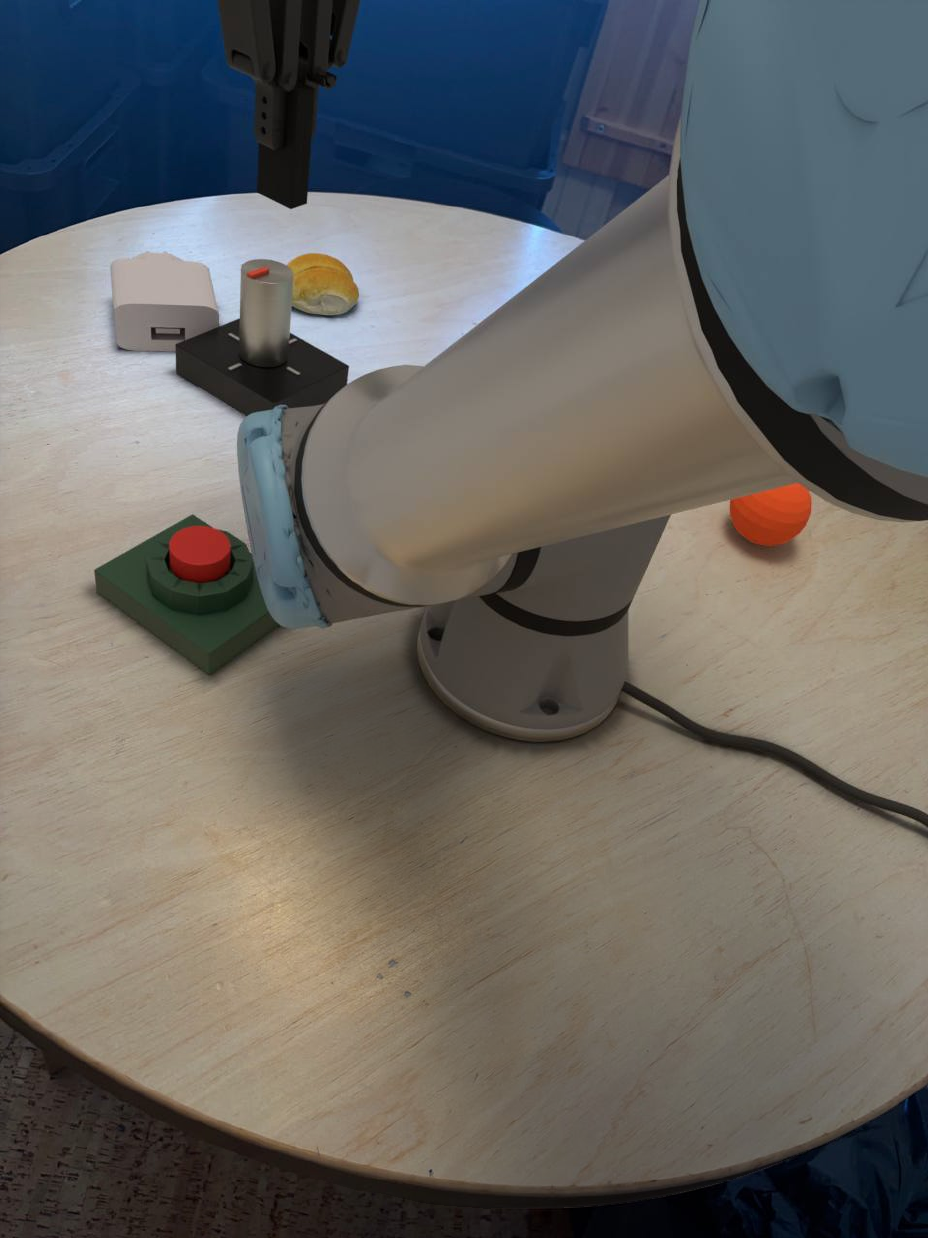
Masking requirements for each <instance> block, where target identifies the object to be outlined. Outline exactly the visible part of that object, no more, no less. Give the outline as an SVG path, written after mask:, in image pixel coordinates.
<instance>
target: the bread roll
mask: <svg viewBox="0 0 928 1238" xmlns="http://www.w3.org/2000/svg"><path fill="white" fill-rule="evenodd" d="M285 265H286V266H288V267H289V268H290V269H291V270H292V271H293V289H292V305H291V307H293V308H295V309H297V310H299V311H301V312H304V313H307V314H313V315H321V316H340V315H343V314H346V313H347V312H349V311H350V310H351V309H352V308H353V307H354V306H355V305H356V304H357V303H358V301H359V297H360V292H359V287H358V285H357V284H356V283H355V282H354V277H353V274H352V273H351V271H350V269H349V268H348V267H347V266H346V265H345V264H344V262H342V261H341V260H339V259H338V258H336V257H333V256H331V255H329V254H324V253H318V252H317V253H316V252H311V253H304V254H301V255H298V256H296V257H295V258H293V259H292V260H290V261H289V262H288V263H286V264H285Z"/></svg>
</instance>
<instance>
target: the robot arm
mask: <svg viewBox="0 0 928 1238" xmlns="http://www.w3.org/2000/svg"><path fill="white" fill-rule="evenodd" d="M360 3H361V0H217V7H218V14H219V20H220V27H221V34H222V41H223V47H224V53H225V55H224V56H225V60H226V64H227V66H228V67H230V68H231V69H234V70H235V71H237V72H239V73H242V74H244V75H247V76H249V77H251V78H252V80H253V82H254V89H255V90H254V91H255V92H254V96H255V97H254V118H253V119H254V123H253V124H254V125H253V135H254V137H255V142H257V143H258V145H257V148H258V150H257V173H256V174H257V176H256V177H257V179H256V193H257V194H259V195H261V196H263V197H265V198H266V199H267V198H268V199H269V200H271V201H274V202H276V203H277V204H279V205H280V206H284V207H285V208H287V209H289V210H293V209H295V208H299V207H301V206H304V205H308V196H309V195H308V194H309V179H310V167H311V152H312V140H314V137H315V134H316V130H317V119H318V117H317V115H318V106H319V105H318V104H319V103H318V102H319V91H320V90H319V89H320V87H322V88H324V89H326V90H331V89H333V88H334V87H335V85H336V83H337V81H338V75H336V74H334V73H331V72H329V70H330V69H331V68H333V67H335V68H338V69H341V68H343V67H344V66H345V65H346V63H347V61H348V57H349V53H350V48H351V44H352V40H353V34H354V31H355V26H356V22H357V17H358V13H359V8H360ZM686 64H687V65H686V72H685V77H684V78H685V79H684V86H683V87H684V88H683V93H682V101H681V111H680V116H679V120H678V124H677V127H676V131H675V135H674V139H673V144H672V152H671V159H670V164H669V172H668V175H667V176H666V177H664V178H662V179H661V180H660V181H658V183H656V184H655V185H654V186H653V187H652V188H649V190H648V191H646V192H645V193H644V194H642V195H641V196H640V197H638V198H637V199H636V200H635V201H634V202H633V203H631V204H630V205H628V207H626V208H625V209H623V210H622V211H621V212H619V213H617V215H616V216H615V217H613V218H612V219H611V220H609V221H608V222H607V223H606V224H604V225H603V226H602V227H600V228H599V229H598V230H596V232H594V233H593V234H592V235H590V236H589V237H587V238H586V239H585V240H584V241H583V242H581V243H579V245H577V246H576V247H575V248H573V249H572V250H571V251H570V252H569V253H567V254H566V255H565V256H563V257H562V258H561V259H560V260H558V261H556V262H555V264H553V265H552V266H551V267H549V268H548V269H547V270H546V271H545V272H543V273H542V274H541V275H539V276H537V278H536V279H534V280H533V281H532V282H530V283H529V284H528V285H527V286H525V287H524V288H523V289H521V290H520V291H519V292H518V293H516V294H515V295H513V296H512V297H511V298H510V299H509V300H508V301H506V302H505V303H504V304H502V305H501V306H499V307H498V308H497V309H496V310H495V311H493V312H492V313H490V314H489V315H488V316H487V317H485V318H484V319H483V320H482V321H480V322H479V323H478V324H477V325H476V326H474V327H473V328H471V329H470V330H468V332H466V333H464V335H463V336H461V337H459V339H457V340H456V341H454V342H453V343H452V344H450V345H449V346H448V347H447V348H446V349H444V350H443V351H442V352H440V353H439V354H438V355H437V356H436V357H434V358H433V359H432V360H431V361H429V362H428V363H426V364H425V365H412V364H402V365H401V364H400V365H393V366H389V367H384V368H379V369H376V370H374V371H371V372H368V373H366V374H363V375H361V376H359V377H358V378H355V379H354V380H352V381H350V382H347V385H346V386H344V387H343V388H342V389H341V390H339V391H338V392H337V393H336V394H335V395H334V396H333V397H332V398H331V399H329V400H328V401H327V402H326V403H325V404H322V405H316V406H309V407H299V408H289V407H288V406H286V405H279V406H276V407H274V409H273V410H267V411H261V412H255V413H252V414H250V415H248V416H245V417H244V418H243V419H242V420H241V422H240V424H239V426H238V430H237V435H236V436H237V437H236V457H237V458H236V459H237V469H238V479H239V489H240V495H241V502H242V508H243V513H244V514H243V515H244V519H245V525H246V532H247V536H248V541H249V547H250V553H251V554H252V556H253V561H254V565H255V569H256V573H257V577H258V581H259V585H260V589H261V592H262V595H263V598H264V601H265V604H266V606H267V609H268V611H269V613H270V614H271V616H272V618H273V619H274V620H275V621H276V622H277V623H278V624H280V625H279V626H281V627H282V628H283V627H284V628H286V629H291V630H293V629H294V630H297V629H306V628H313V627H318V628H320V629H321V630H324V629H326V628H330V627H332V626H333V624H336V623H342V622H347V621H353V620H358V619H364V618H369V617H375V616H379V615H385V614H391V613H397V612H402V611H408V610H413V609H419V608H424V607H426V609H425V611H424V614H423V615H422V619H421V622H420V625H419V629H418V634H417V635H418V636H417V641H416V651H417V659H418V663H419V667H420V669H421V672H422V675H423V677H424V679H425V680H426V683H427V684H428V686H429V687H430V690H432V691H433V692H434V695H436V696H437V698H438V699H439V700H440V701H441V702H442V703H443V704H444V705H445V706H446V707H448V709H450V710H451V711H452V712H453V713H455V714H456V715H458V716H459V717H460V718H462V719H463V720H465V721H467V722H468V723H470V724H472V725H473V726H476V727H477V728H480V729H482V730H484V731H487V732H489V733H492V734H494V735H497V736H501V737H504V738H507V739H511V740H517V741H525V742H537V743H538V742H539V743H541V742H542V743H543V742H544V743H545V742H556V741H557V742H558V741H564V740H567V739H571V738H575V737H577V736H580V735H583V734H585V733H587V732H589V731H591V730H593V729H595V728H596V727H598V726H599V725H600V724H601V723H602V722H603V721H605V720H606V718H607V717H608V716H609V715H610V714H611V712H612V711H613V710H614V708H615V706H616V704H617V703H618V700H619V699H620V696H621V694H622V693H625V694H626V695H627V696H629V697H632V698H633V699H635V700H637V701H638V702H640V703H642V704H643V705H645V706H647V707H649V708H651V709H652V710H655V711H656V712H658V713H660V714H661V715H663V716H665V717H666V718H668V719H669V720H671V721H672V722H674V723H675V724H677V725H678V726H680V727H681V728H683V729H685V730H687V731H688V732H690V733H691V734H694V735H696V736H698V737H701V738H703V739H705V740H708V741H710V742H714V743H718V744H722V745H726V746H731V747H738V748H739V747H740V748H745V749H750V750H756V751H761V752H764V753H768V754H770V755H773V756H776V757H779V758H780V759H783V760H785V761H787V762H789V763H791V764H793V765H795V766H797V767H798V768H800V769H802V770H804V771H805V772H806V773H808V774H810V775H812V777H815V778H816V779H818V780H819V781H820V782H822V783H824V784H826V785H827V786H829V787H831V788H832V789H834V790H837V791H838V792H839V793H841V794H843V795H846V796H848V797H850V798H851V799H854V800H855V801H857V802H858V801H859V802H861V803H864V804H867V805H869V806H872V807H875V808H879V809H882V810H884V811H888V812H892V813H894V814H898V815H901V816H903V817H906V818H909V819H912V820H914V821H915V822H918V823H920V824H921V825H923V826H925V827H926V828H927V829H928V813H927V812H925V811H923V810H920V809H919V808H917V807H914V806H911V805H908V804H905V803H902V802H899V801H896V800H893V799H890V798H886V797H883V796H880V795H877V794H873V793H870V792H868V791H865V790H863V789H860V788H858V787H855V786H854V785H851V784H849V783H847V782H846V781H844V780H842V779H841V778H839V777H837V776H836V775H834V774H832V773H830V772H829V771H827V770H825V769H824V768H822V767H821V766H819V765H817V764H816V763H814V762H813V761H811V760H809V759H807V758H806V757H804V756H803V755H801V754H799V753H797V752H795V751H793V750H791V749H788V748H786V747H784V746H782V745H780V744H776V743H774V742H770V741H769V740H768V741H767V740H765V739H764V740H763V739H760V738H755V737H749V736H742V735H736V734H730V733H726V732H722V731H717V730H714V729H711V728H709V727H706V726H703V725H702V724H700V723H698V722H696V721H694V720H692V719H690V718H688V717H687V716H686V715H684V714H683V713H682V712H680V711H678V710H677V709H675V708H674V707H672V706H670V705H669V704H667V703H665V702H663V701H662V700H660V699H659V698H657V697H655V696H653V695H651V694H649V693H648V692H646V691H644V690H642V689H640V688H639V687H637V686H635V685H634V684H632V683H630V682H628V681H626V679H627V674H628V670H629V610H630V608H631V605H632V603H633V600H634V598H635V595H636V594H637V592H638V590H639V587H640V585H641V583H642V581H643V578H644V576H645V574H646V572H647V569H648V567H649V565H650V563H651V561H652V559H653V556H654V554H655V551H656V549H657V547H658V545H659V542H660V541H661V539H662V535H663V534H664V531H665V530H666V527H667V525H668V522H669V520H670V518H671V516H672V515H674V514H675V515H676V514H679V513H683V512H688V511H692V510H695V509H699V508H703V507H707V506H711V505H715V504H719V503H724V502H727V501H730V500H731V499H736V498H740V497H744V496H748V495H752V494H756V493H760V492H764V491H768V490H772V489H776V488H780V487H784V486H788V485H792V484H796V483H799V484H800V485H802V486H803V487H805V488H806V489H808V490H809V492H810V493H812V494H814V495H815V496H817V497H818V498H820V499H822V500H823V501H825V502H827V503H829V504H831V505H833V506H835V507H838V508H839V509H842V510H844V511H847V512H849V513H851V514H853V515H854V514H855V515H858V516H861V517H865V518H869V519H871V520H872V519H873V520H876V521H883V522H895V523H913V522H924V521H925V522H926V521H928V0H699V3H698V7H697V11H696V15H695V19H694V24H693V29H692V33H691V37H690V43H689V49H688V57H687V63H686Z"/></svg>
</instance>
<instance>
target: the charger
mask: <svg viewBox="0 0 928 1238" xmlns="http://www.w3.org/2000/svg"><path fill="white" fill-rule="evenodd" d="M109 269H110V281H111V294H112V306H113V307H112V308H113V319H114V320H113V321H114V331H115V343H116V345H117V346H118V347H120V348H122V349H124V350H126V351H127V350H128V351H135V352H176V351H175V344H177V343H180V342H182V341H185V340H187V339H190V338H192V337H194V336H197V335H199V334H202V333H204V332H207V331H209V330H212V329H214V328H217V327H219V326H220V313H219V307H218V302H217V298H216V295H215V290H214V285H213V280H212V276H211V272H210V271H211V270H210V269H209V266H207V265H206V264H204V263H202V262H198V261H192V260H183V259H181V258H180V257H178V256H176V255H173V254H172V253H169V252H168V251H163V252H151V251H150V250H146V251H145V252H143V253H141V254H138V255H135V256H133V257H131V258H130V257H129V258H127V257H125V258H119V259H115V260H113V261H112V262H111V263H110V265H109Z"/></svg>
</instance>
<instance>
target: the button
mask: <svg viewBox="0 0 928 1238" xmlns="http://www.w3.org/2000/svg"><path fill="white" fill-rule="evenodd" d="M211 527H212V526H211ZM211 527H206V526H192V527H187V528H184V529H182V530H180V531H178V532H177V533H175V534H174V535H173V537H172V538H171V540H170V543H169V554H170V567H171V570H172V571H173V573H174V574H175V575H176V576H178V577H179V578H181V579H182V580H185V581H190V582H195V583H207V582H213V581H216V580H218V579H220V578H222V577H223V576H224V575H225V574H226V573H227V572H228V570H229V568H230V553H231V545H230V541H229V539H228V538H227V536H226V535H225V534H223V533H222V532H221V531H219V530H220V529H218V530H217V528H214V527H213V528H211Z"/></svg>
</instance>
